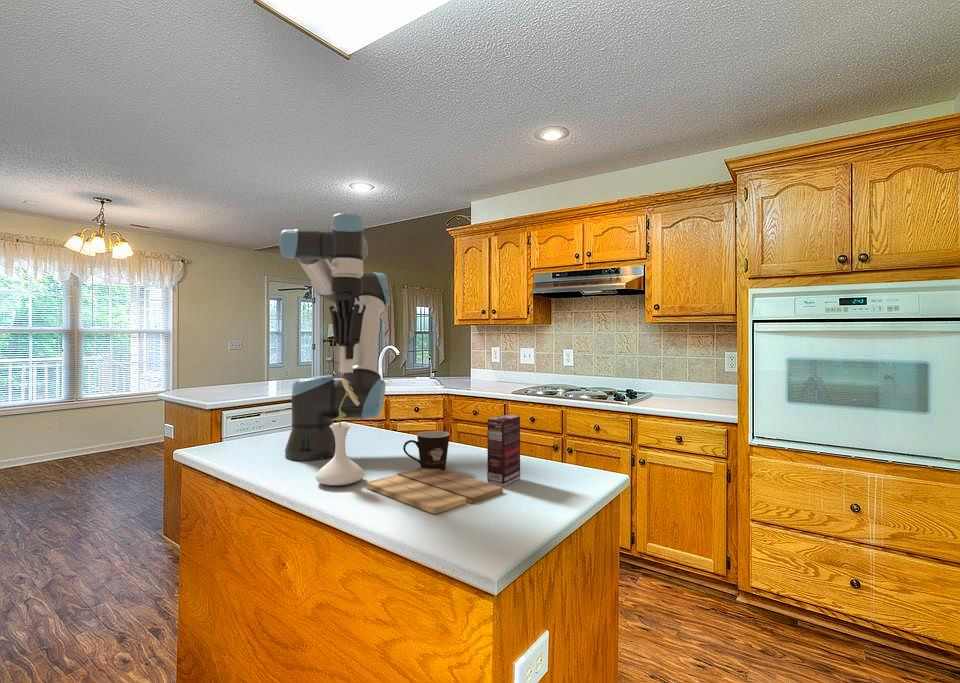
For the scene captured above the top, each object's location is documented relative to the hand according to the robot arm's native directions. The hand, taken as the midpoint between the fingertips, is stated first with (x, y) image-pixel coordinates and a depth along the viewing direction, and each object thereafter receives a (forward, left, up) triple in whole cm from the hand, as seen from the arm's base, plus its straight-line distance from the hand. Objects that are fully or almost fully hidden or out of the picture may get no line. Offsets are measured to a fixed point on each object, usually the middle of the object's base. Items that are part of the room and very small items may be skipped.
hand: (346, 372), depth 117 cm
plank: (+22, +3, -26) cm, 34 cm away
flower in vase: (+1, -2, -27) cm, 27 cm away
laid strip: (+22, +14, -26) cm, 37 cm away
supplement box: (+30, +26, -27) cm, 47 cm away
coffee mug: (+9, +19, -27) cm, 34 cm away
